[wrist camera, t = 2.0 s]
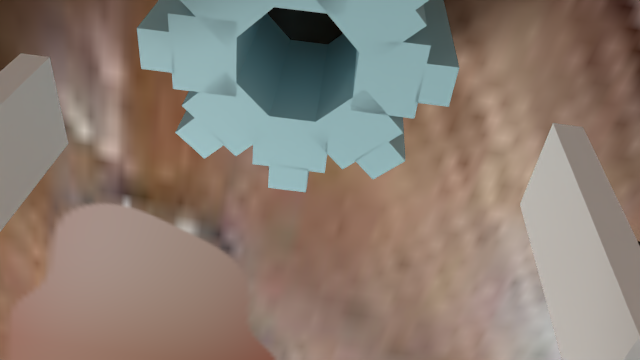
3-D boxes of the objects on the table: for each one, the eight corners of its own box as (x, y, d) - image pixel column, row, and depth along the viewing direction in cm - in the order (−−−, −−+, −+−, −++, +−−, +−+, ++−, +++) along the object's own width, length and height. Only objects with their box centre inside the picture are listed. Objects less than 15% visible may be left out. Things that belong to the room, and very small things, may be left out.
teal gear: (193, 92, 26) (152, 173, 21) (181, -162, 20) (120, -127, 15) (414, 119, 26) (421, 206, 21) (470, -127, 20) (499, -81, 15)
